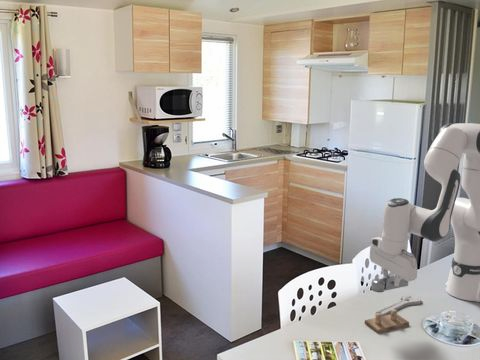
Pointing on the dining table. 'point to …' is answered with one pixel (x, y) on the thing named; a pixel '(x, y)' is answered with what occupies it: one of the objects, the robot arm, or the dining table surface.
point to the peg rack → (386, 322)
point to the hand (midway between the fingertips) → (390, 282)
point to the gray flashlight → (386, 284)
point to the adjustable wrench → (400, 304)
